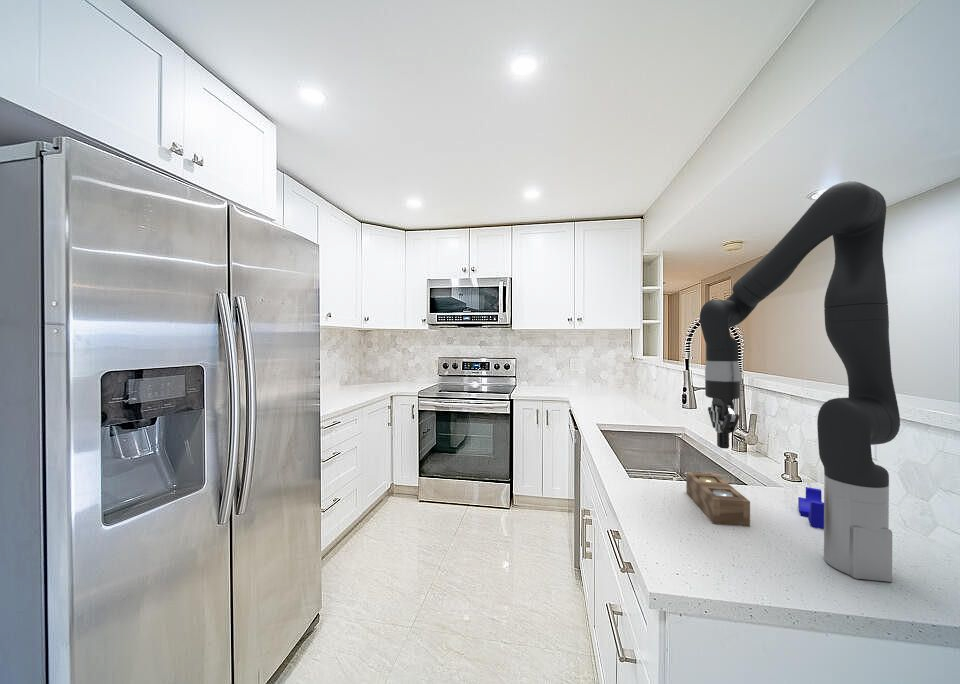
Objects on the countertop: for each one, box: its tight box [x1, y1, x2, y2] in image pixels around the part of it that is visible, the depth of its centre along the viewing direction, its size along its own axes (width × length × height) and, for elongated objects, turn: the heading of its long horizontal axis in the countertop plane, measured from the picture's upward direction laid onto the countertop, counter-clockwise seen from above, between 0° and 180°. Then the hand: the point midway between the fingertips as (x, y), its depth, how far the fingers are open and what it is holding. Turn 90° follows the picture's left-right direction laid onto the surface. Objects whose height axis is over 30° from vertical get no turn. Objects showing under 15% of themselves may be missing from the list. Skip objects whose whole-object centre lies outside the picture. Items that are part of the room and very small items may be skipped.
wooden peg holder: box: [685, 471, 751, 528], centre depth 105 cm, size 20×8×6 cm, turn 170°
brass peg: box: [699, 477, 717, 482], centre depth 110 cm, size 4×4×6 cm
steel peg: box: [713, 490, 733, 497], centre depth 101 cm, size 4×4×6 cm
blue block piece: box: [797, 486, 824, 530], centre depth 99 cm, size 12×4×6 cm, turn 146°
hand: (723, 447), depth 100 cm, fingers closed
